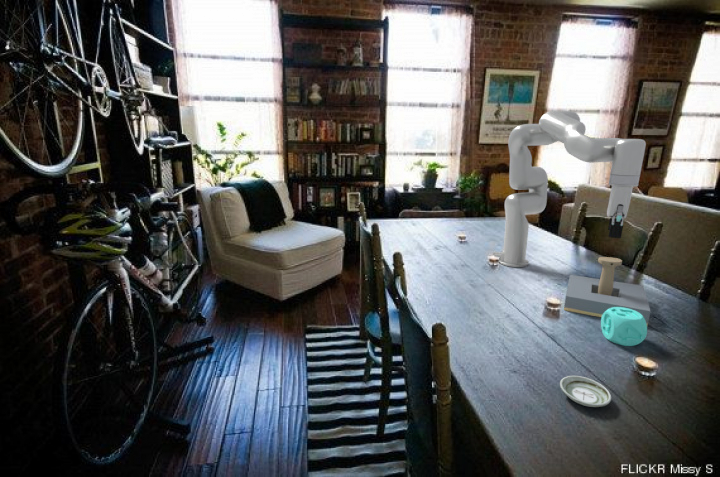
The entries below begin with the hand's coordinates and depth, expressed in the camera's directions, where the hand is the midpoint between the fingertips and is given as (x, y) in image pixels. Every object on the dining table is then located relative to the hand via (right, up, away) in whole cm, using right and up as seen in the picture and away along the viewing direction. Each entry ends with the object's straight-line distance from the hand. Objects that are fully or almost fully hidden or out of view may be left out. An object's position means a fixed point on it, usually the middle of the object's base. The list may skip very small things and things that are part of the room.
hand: (614, 233), depth 118 cm
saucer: (-32, -37, -37) cm, 62 cm away
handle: (+1, -23, +6) cm, 24 cm away
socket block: (+1, -24, +6) cm, 25 cm away
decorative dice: (-8, -30, -15) cm, 34 cm away
